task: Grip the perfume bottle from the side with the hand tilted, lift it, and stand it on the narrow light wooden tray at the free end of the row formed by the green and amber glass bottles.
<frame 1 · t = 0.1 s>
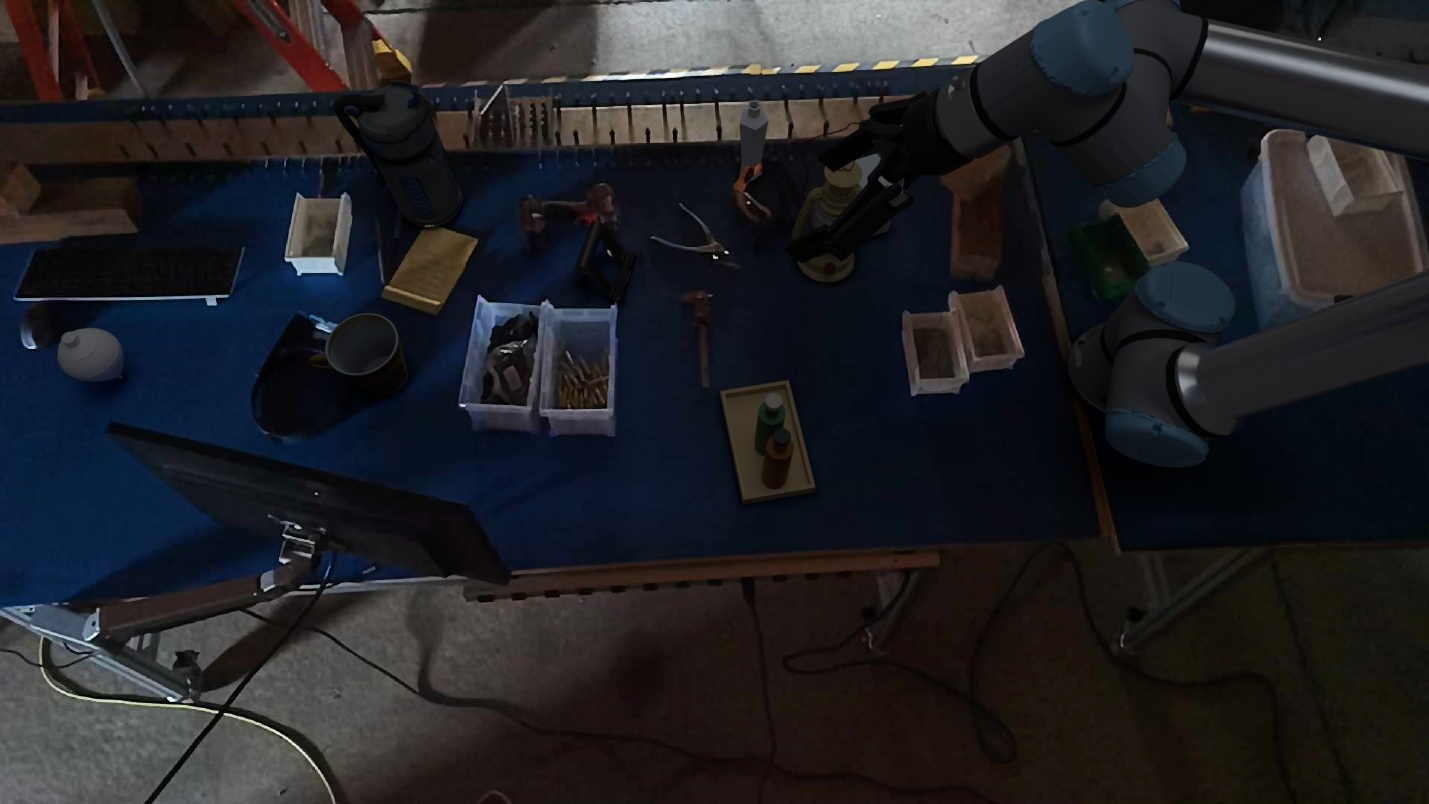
hand: (810, 207, 98), 36 cm above the workbench, tool tilted 35°, fingers open, 13 cm apart
amber bottle: (774, 477, 121), resting on tray
green bottle: (766, 445, 123), resting on tray
beverage bottle: (428, 207, 142), on the workbench
ceramic cup: (376, 380, 128), on the workbench
small box: (862, 219, 142), on the workbench
lantern: (825, 261, 138), on the workbench
tablet stand: (605, 278, 137), on the workbench
tray: (765, 443, 124), on the workbench
perfume bottle: (751, 172, 146), on the workbench
spinning top: (122, 378, 128), on the workbench
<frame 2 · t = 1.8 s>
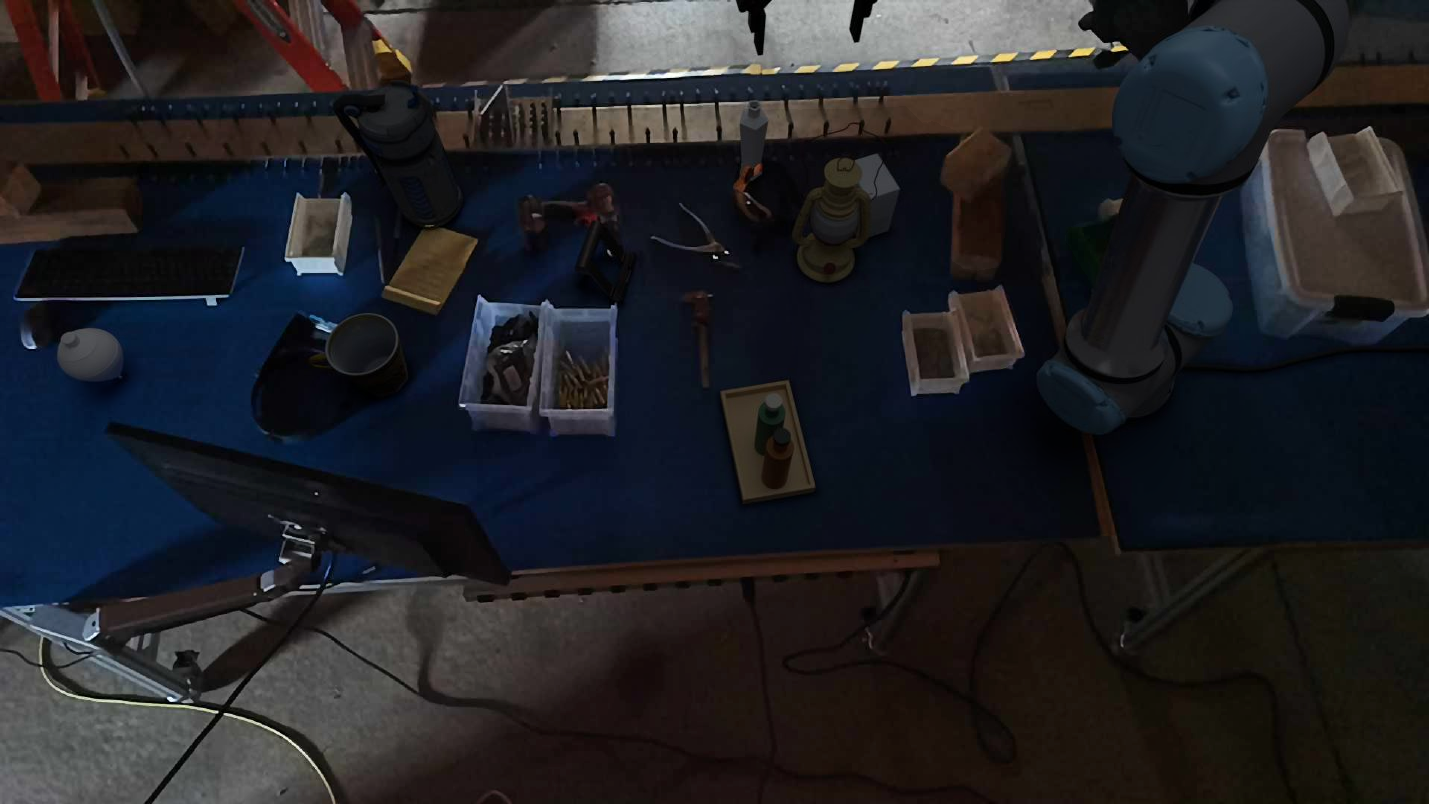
hand: (806, 42, 119), 29 cm above the workbench, tool pointing down, fingers open, 13 cm apart
nothing on the workbench moved.
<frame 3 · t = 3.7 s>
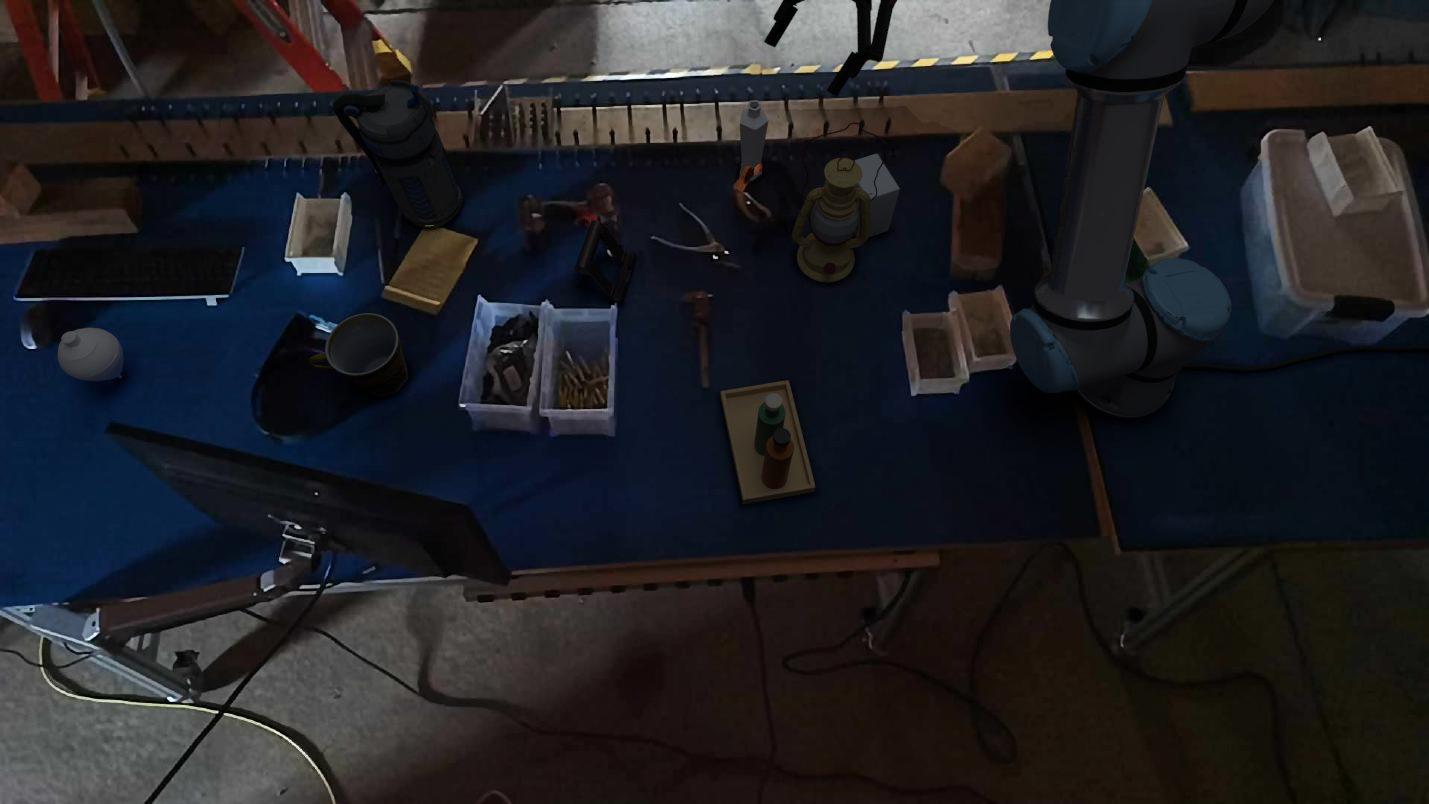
hand: (799, 68, 133), 17 cm above the workbench, tool tilted 45°, fingers open, 13 cm apart
nothing on the workbench moved.
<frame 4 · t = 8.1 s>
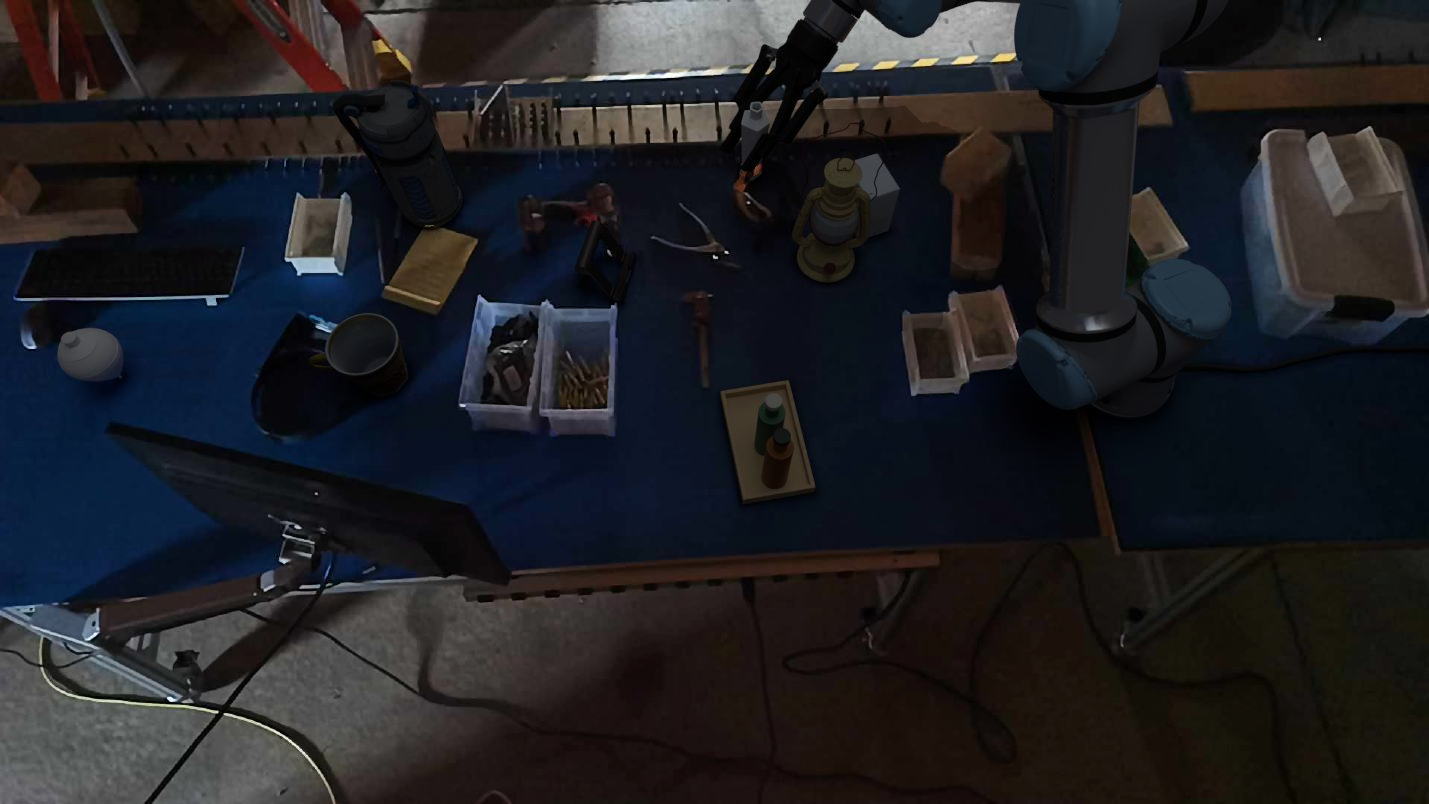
hand: (735, 160, 140), 5 cm above the workbench, tool tilted 45°, fingers closed on perfume bottle, 4 cm apart
perfume bottle: (751, 172, 146), on the workbench, touching gripper
everything else where it was.
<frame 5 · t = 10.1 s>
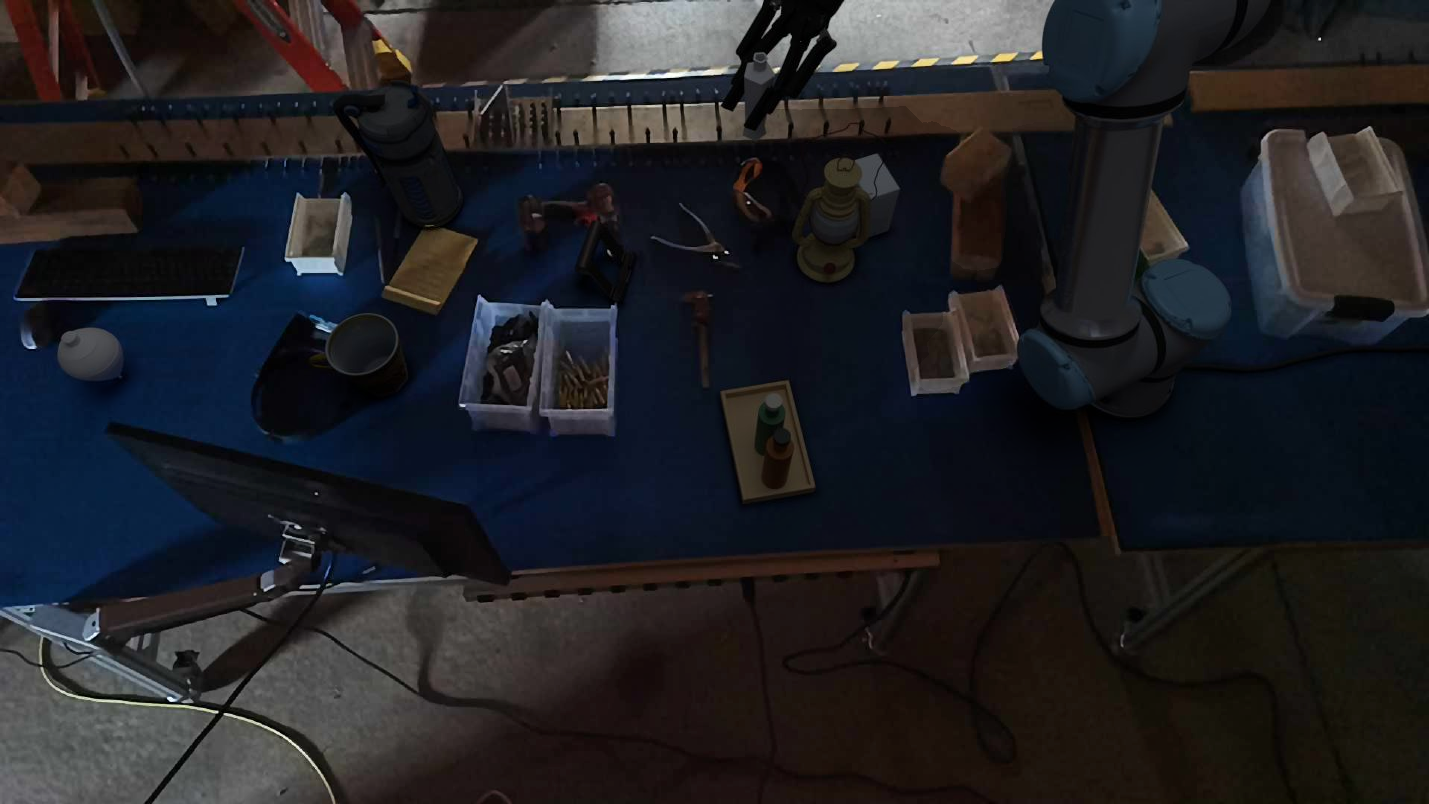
hand: (738, 118, 132), 15 cm above the workbench, tool tilted 45°, fingers closed on perfume bottle, 4 cm apart
perfume bottle: (755, 132, 138), point 9 cm above the workbench, touching gripper
everything else where it was.
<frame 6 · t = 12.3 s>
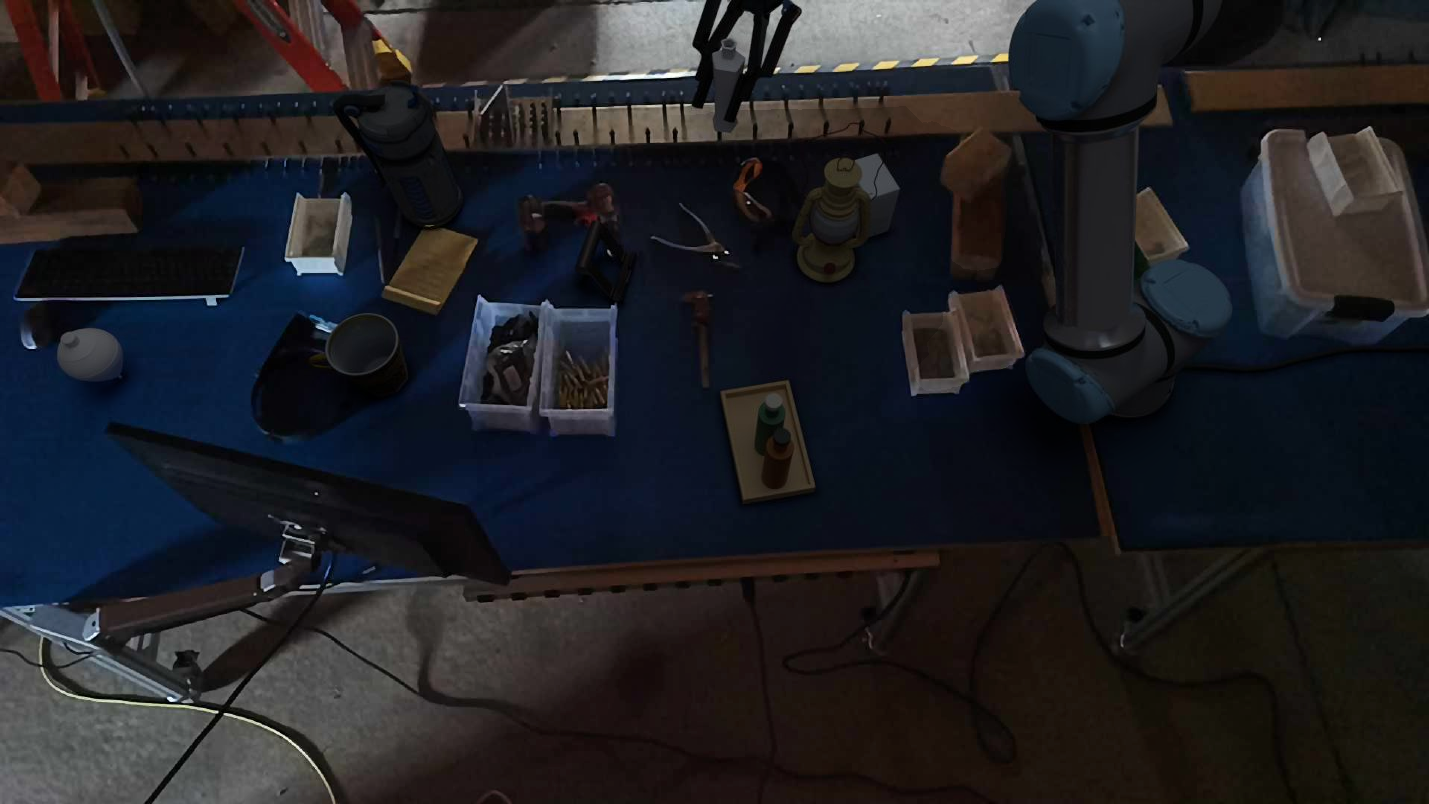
hand: (712, 114, 122), 22 cm above the workbench, tool tilted 45°, fingers closed on perfume bottle, 4 cm apart
perfume bottle: (725, 124, 129), point 17 cm above the workbench, touching gripper
everything else where it was.
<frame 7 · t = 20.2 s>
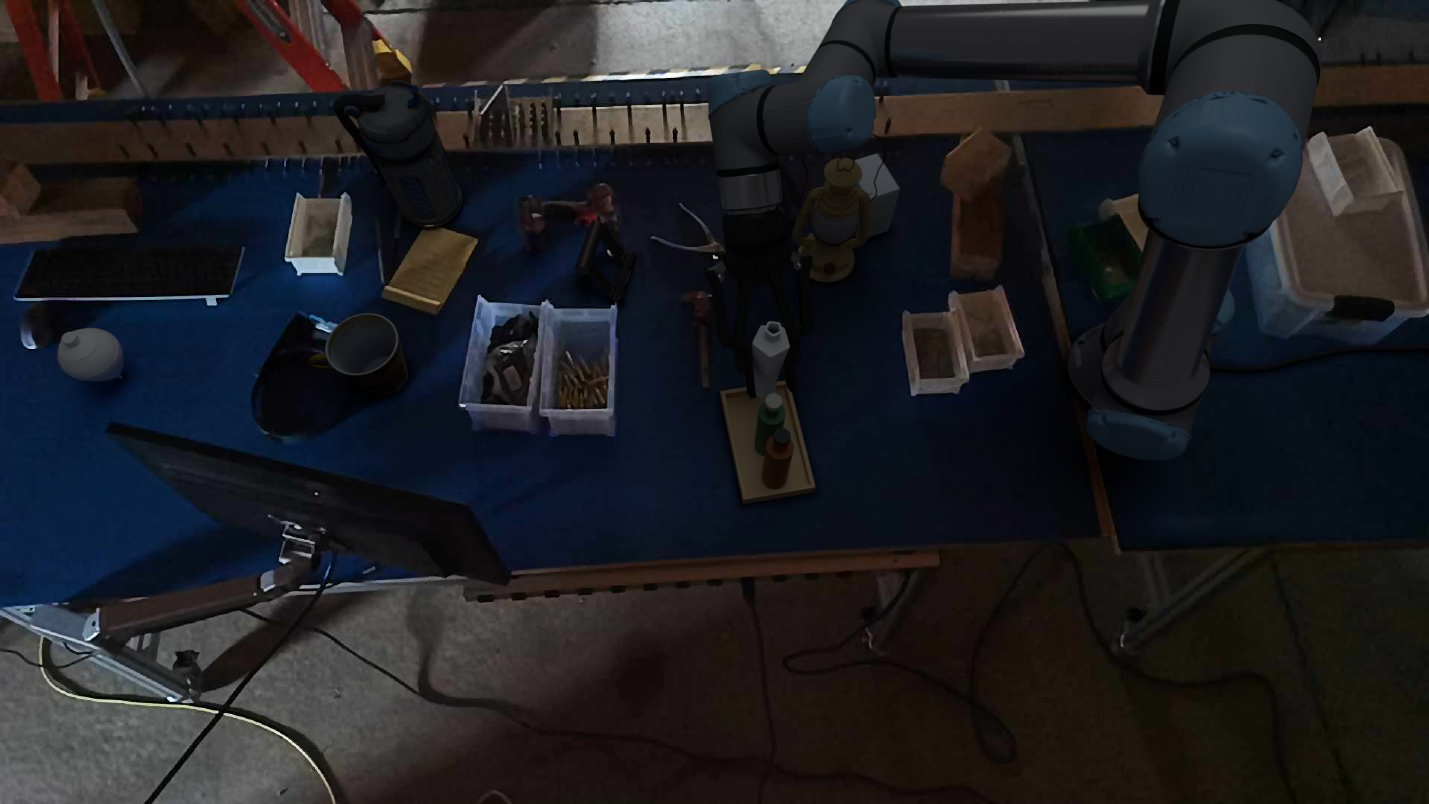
hand: (771, 391, 111), 15 cm above the workbench, tool tilted 45°, fingers closed on perfume bottle, 4 cm apart
perfume bottle: (763, 385, 117), point 10 cm above the workbench, touching gripper
everything else where it was.
when the fingers open (6 cm above the workbench, at t = 23.0 s): perfume bottle stays where it is, resting on tray.
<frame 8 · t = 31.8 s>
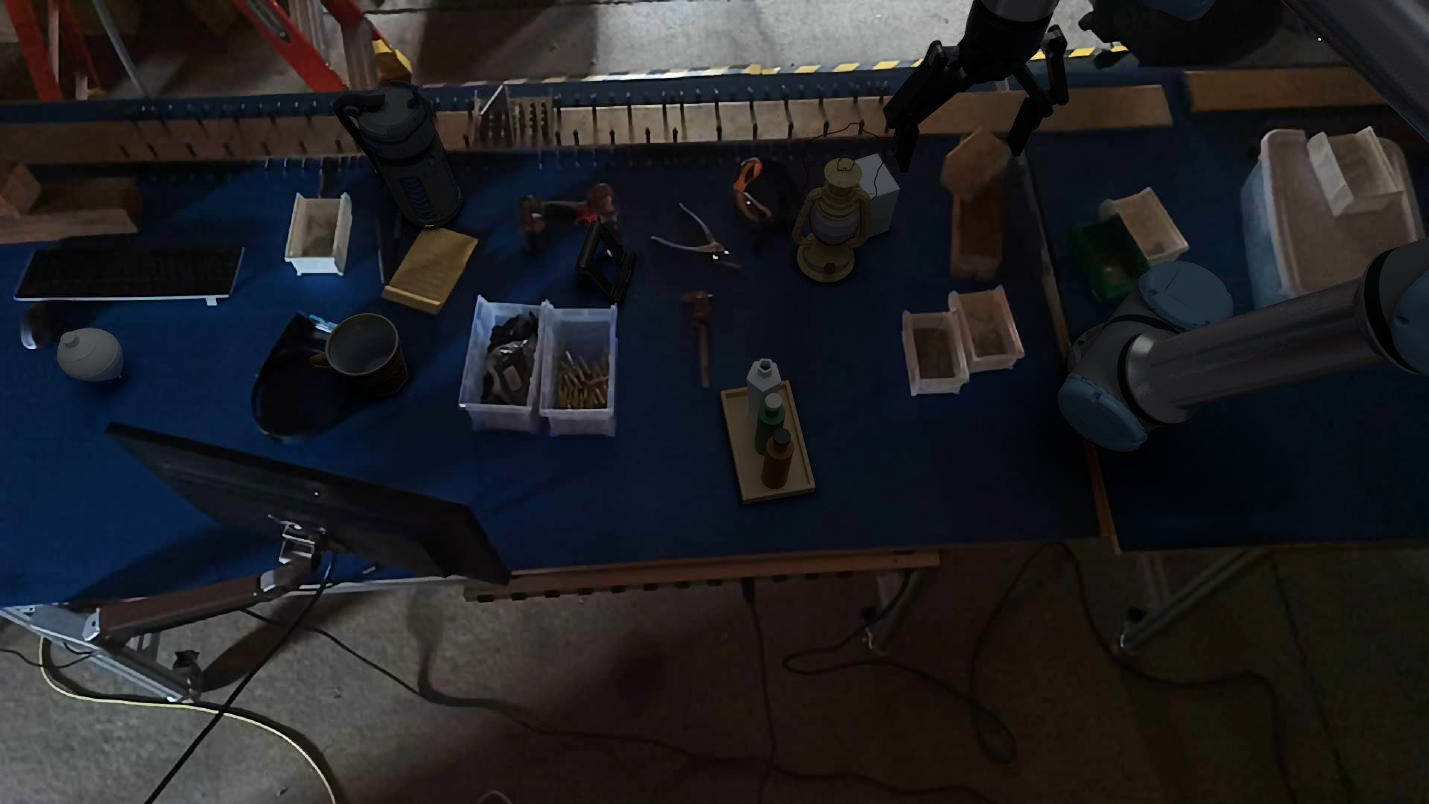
hand: (957, 156, 100), 37 cm above the workbench, tool pointing down, fingers open, 13 cm apart
perfume bottle: (760, 414, 126), resting on tray
everything else where it was.
at the end: perfume bottle 0.3 cm from the target spot in the tray, point 0.3 cm above the tray's base; perfume bottle tilted 0°; green bottle moved 0.0 cm from its start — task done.
